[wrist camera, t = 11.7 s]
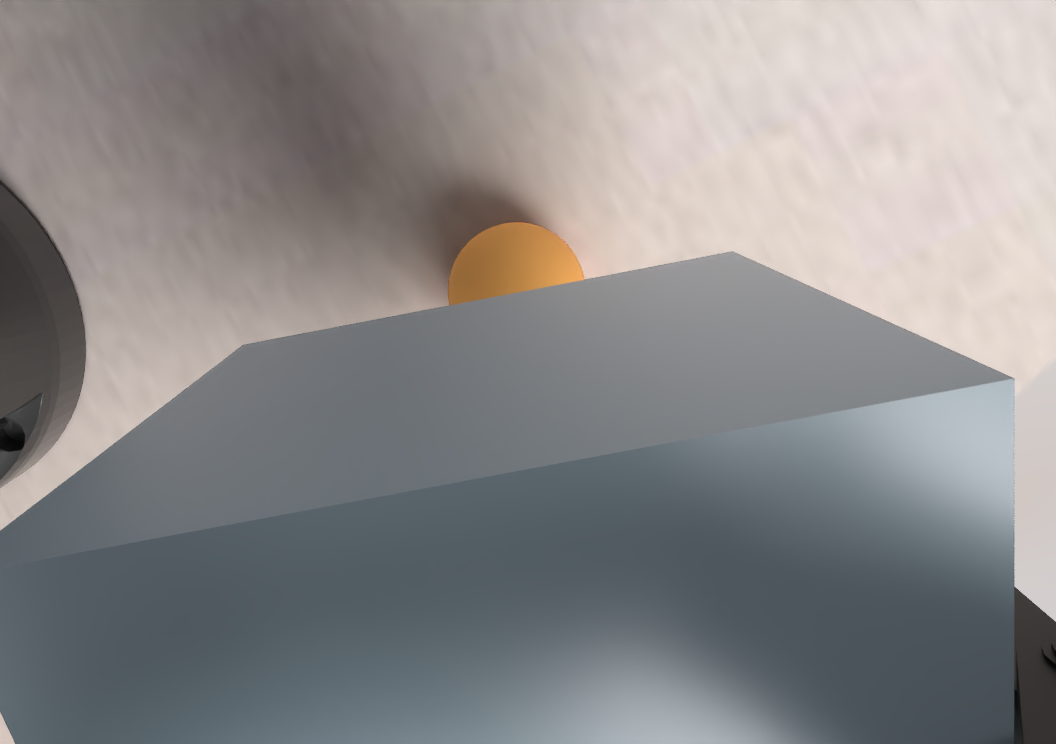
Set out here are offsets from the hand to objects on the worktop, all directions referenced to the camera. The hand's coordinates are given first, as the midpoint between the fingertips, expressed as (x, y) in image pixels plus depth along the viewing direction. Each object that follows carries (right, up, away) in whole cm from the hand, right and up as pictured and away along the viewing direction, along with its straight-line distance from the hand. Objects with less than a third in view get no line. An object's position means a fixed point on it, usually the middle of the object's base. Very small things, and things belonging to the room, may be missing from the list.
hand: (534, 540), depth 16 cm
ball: (-1, +6, +11) cm, 13 cm away
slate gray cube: (0, 0, +1) cm, 1 cm away
